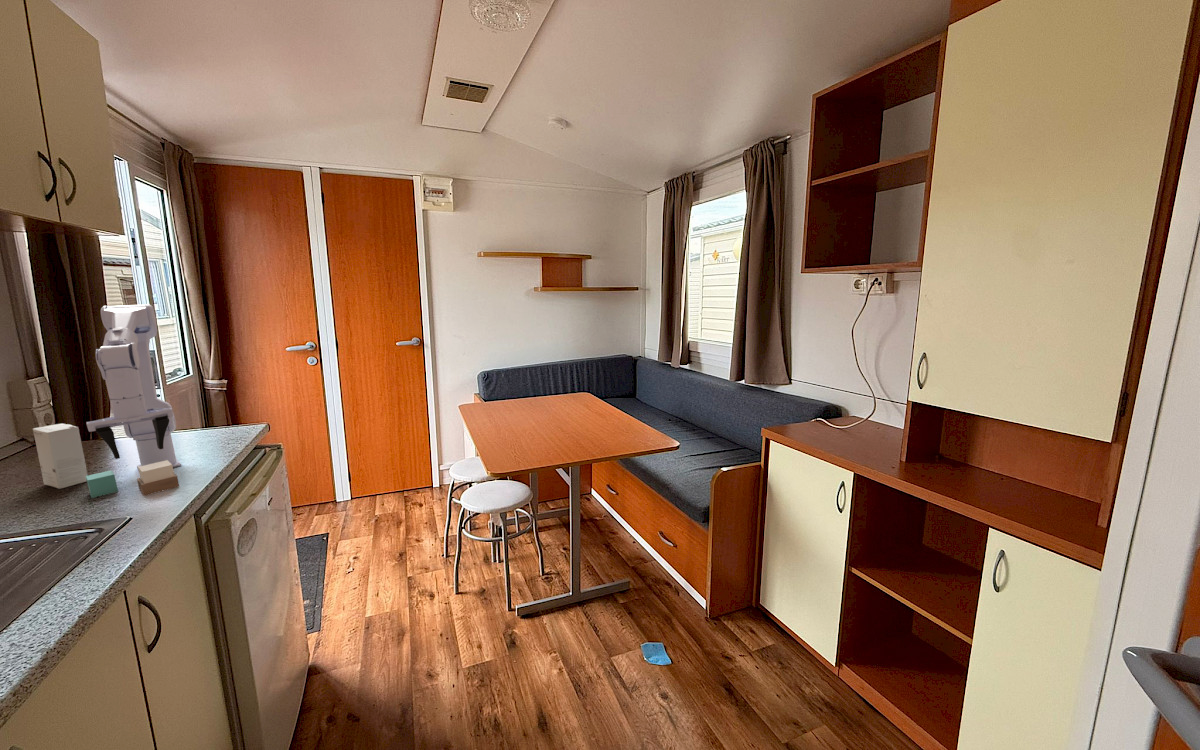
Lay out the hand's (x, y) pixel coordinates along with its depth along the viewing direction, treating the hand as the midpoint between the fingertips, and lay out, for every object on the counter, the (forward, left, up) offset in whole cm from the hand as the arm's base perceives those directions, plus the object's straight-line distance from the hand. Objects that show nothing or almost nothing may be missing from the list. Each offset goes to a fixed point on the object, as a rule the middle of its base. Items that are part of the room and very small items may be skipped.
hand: (139, 452), depth 116 cm
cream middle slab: (-1, +2, -7) cm, 8 cm away
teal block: (-9, -7, -10) cm, 15 cm away
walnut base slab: (-1, +2, -10) cm, 11 cm away
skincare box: (-26, -12, -10) cm, 31 cm away
